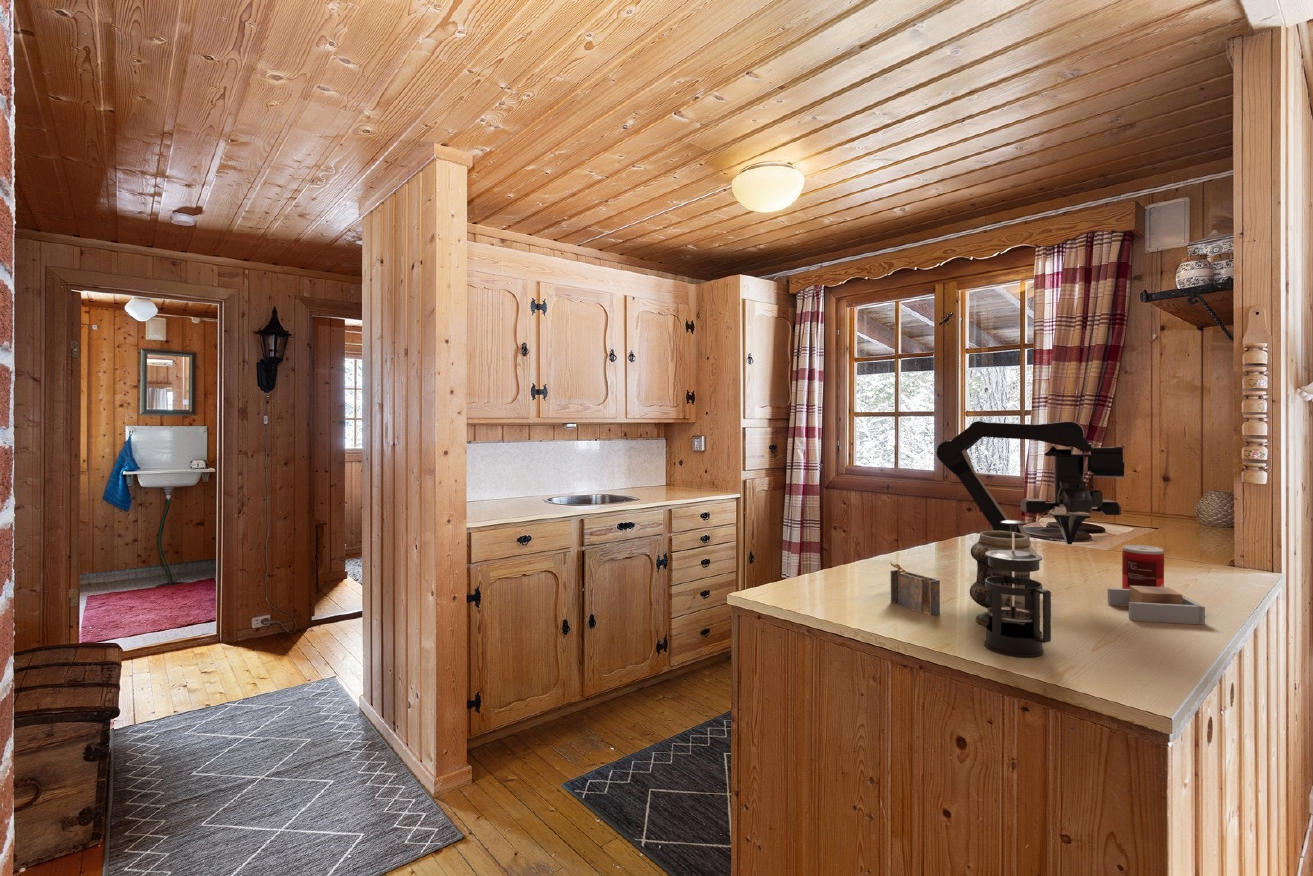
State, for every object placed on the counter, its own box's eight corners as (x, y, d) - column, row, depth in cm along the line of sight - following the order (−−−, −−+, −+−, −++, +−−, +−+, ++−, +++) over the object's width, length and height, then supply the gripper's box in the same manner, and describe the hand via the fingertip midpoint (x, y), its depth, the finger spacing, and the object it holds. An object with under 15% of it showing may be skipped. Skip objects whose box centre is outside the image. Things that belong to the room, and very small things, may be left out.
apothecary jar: (1012, 636, 123) (1012, 541, 122) (956, 619, 133) (956, 532, 133) (1050, 626, 128) (1050, 535, 128) (994, 610, 139) (994, 527, 138)
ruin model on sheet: (889, 604, 146) (888, 561, 146) (899, 602, 148) (899, 560, 147) (929, 618, 136) (929, 572, 136) (939, 616, 137) (939, 570, 137)
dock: (1130, 620, 131) (1130, 603, 131) (1107, 603, 142) (1107, 588, 142) (1204, 624, 127) (1205, 607, 127) (1174, 607, 139) (1175, 591, 139)
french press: (969, 643, 119) (968, 518, 119) (1004, 635, 123) (1003, 514, 123) (1029, 664, 109) (1029, 528, 108) (1065, 655, 113) (1065, 523, 112)
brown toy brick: (1142, 617, 132) (1142, 593, 132) (1128, 607, 139) (1128, 584, 139) (1183, 620, 130) (1183, 595, 130) (1166, 610, 137) (1167, 586, 137)
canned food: (1149, 591, 152) (1149, 544, 151) (1172, 600, 144) (1173, 551, 144) (1114, 591, 153) (1114, 544, 152) (1136, 600, 145) (1136, 551, 144)
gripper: (1033, 479, 143) (1033, 549, 143) (1131, 479, 138) (1131, 552, 138) (1019, 474, 154) (1020, 540, 154) (1110, 475, 148) (1110, 543, 149)
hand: (1069, 544), depth 148 cm, fingers closed
